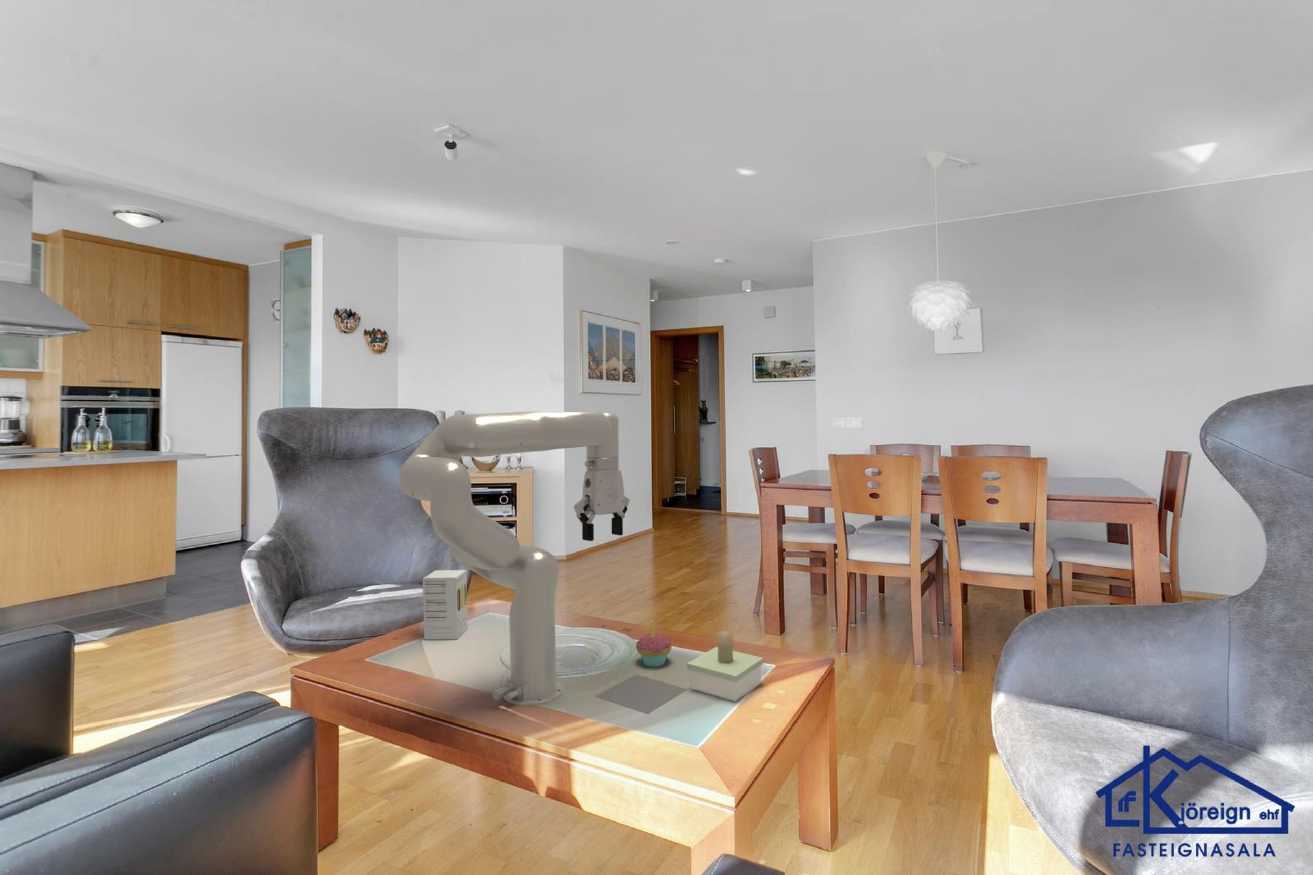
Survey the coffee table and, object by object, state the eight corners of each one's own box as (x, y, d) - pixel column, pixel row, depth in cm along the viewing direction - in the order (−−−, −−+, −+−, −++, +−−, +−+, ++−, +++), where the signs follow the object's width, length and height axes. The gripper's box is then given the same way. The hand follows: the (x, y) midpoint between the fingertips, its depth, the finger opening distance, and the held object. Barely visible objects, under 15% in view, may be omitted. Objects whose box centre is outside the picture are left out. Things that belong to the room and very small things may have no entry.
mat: (647, 716, 127) (647, 713, 127) (594, 698, 135) (594, 696, 135) (687, 691, 138) (687, 689, 138) (636, 676, 146) (636, 674, 146)
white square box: (735, 704, 132) (735, 680, 131) (690, 691, 138) (690, 668, 138) (760, 686, 140) (760, 663, 140) (717, 674, 147) (717, 652, 147)
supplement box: (457, 640, 172) (456, 577, 172) (423, 640, 172) (421, 578, 172) (468, 628, 182) (467, 569, 181) (435, 628, 182) (434, 569, 181)
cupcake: (668, 672, 148) (667, 621, 148) (632, 670, 150) (631, 619, 150) (674, 659, 157) (673, 610, 156) (640, 656, 158) (639, 608, 158)
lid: (736, 682, 131) (735, 646, 130) (686, 668, 138) (686, 635, 138) (763, 663, 140) (763, 630, 140) (716, 651, 147) (715, 620, 147)
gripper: (587, 467, 143) (587, 544, 143) (638, 463, 156) (639, 534, 156) (564, 466, 148) (564, 540, 148) (616, 462, 161) (616, 531, 161)
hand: (602, 537), depth 152 cm, fingers open, 9 cm apart
